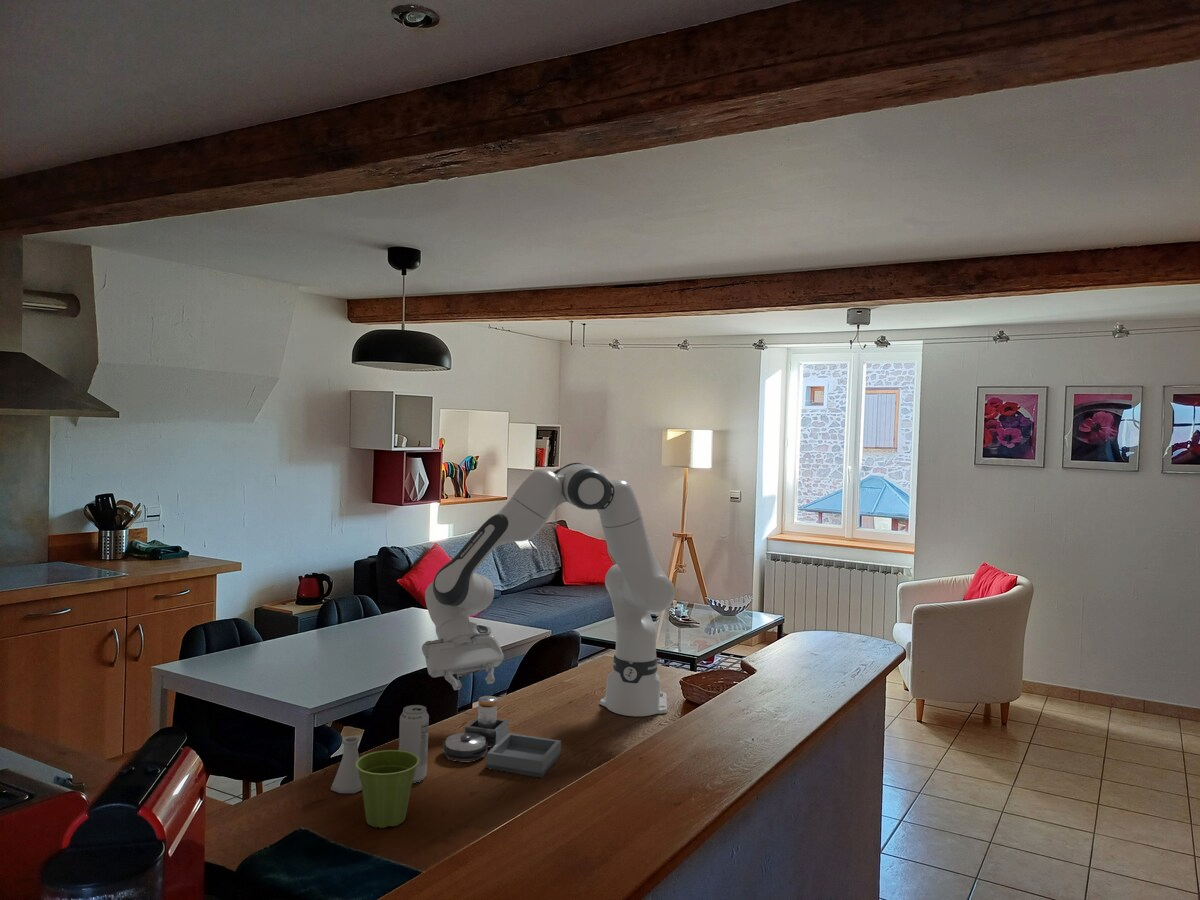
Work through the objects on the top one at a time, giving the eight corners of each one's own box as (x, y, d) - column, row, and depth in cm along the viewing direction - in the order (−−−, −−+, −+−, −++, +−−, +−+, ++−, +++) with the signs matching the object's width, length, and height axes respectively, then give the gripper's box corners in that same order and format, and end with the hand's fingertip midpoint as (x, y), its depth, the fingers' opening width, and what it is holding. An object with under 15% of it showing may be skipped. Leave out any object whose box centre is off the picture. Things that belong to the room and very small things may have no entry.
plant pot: (422, 806, 163) (424, 749, 162) (410, 836, 151) (413, 775, 150) (361, 804, 162) (364, 748, 162) (345, 834, 150) (347, 773, 150)
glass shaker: (481, 735, 201) (483, 694, 201) (498, 738, 200) (500, 697, 200) (473, 742, 197) (475, 700, 197) (491, 744, 196) (493, 702, 195)
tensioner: (470, 730, 204) (470, 714, 204) (508, 736, 201) (508, 719, 201) (435, 759, 185) (436, 741, 185) (476, 766, 183) (477, 747, 183)
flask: (356, 797, 165) (358, 747, 165) (323, 792, 167) (325, 743, 167) (373, 782, 173) (375, 734, 172) (341, 777, 174) (343, 730, 174)
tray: (507, 747, 194) (508, 732, 194) (560, 755, 191) (561, 740, 191) (486, 768, 182) (486, 753, 182) (542, 777, 178) (542, 761, 178)
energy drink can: (401, 772, 178) (404, 703, 178) (429, 773, 178) (432, 704, 177) (393, 784, 172) (396, 712, 172) (422, 785, 172) (425, 714, 171)
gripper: (424, 635, 202) (442, 685, 194) (495, 625, 215) (514, 672, 208) (415, 649, 205) (432, 699, 198) (485, 639, 218) (504, 685, 211)
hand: (475, 685), depth 203 cm, fingers open, 8 cm apart
